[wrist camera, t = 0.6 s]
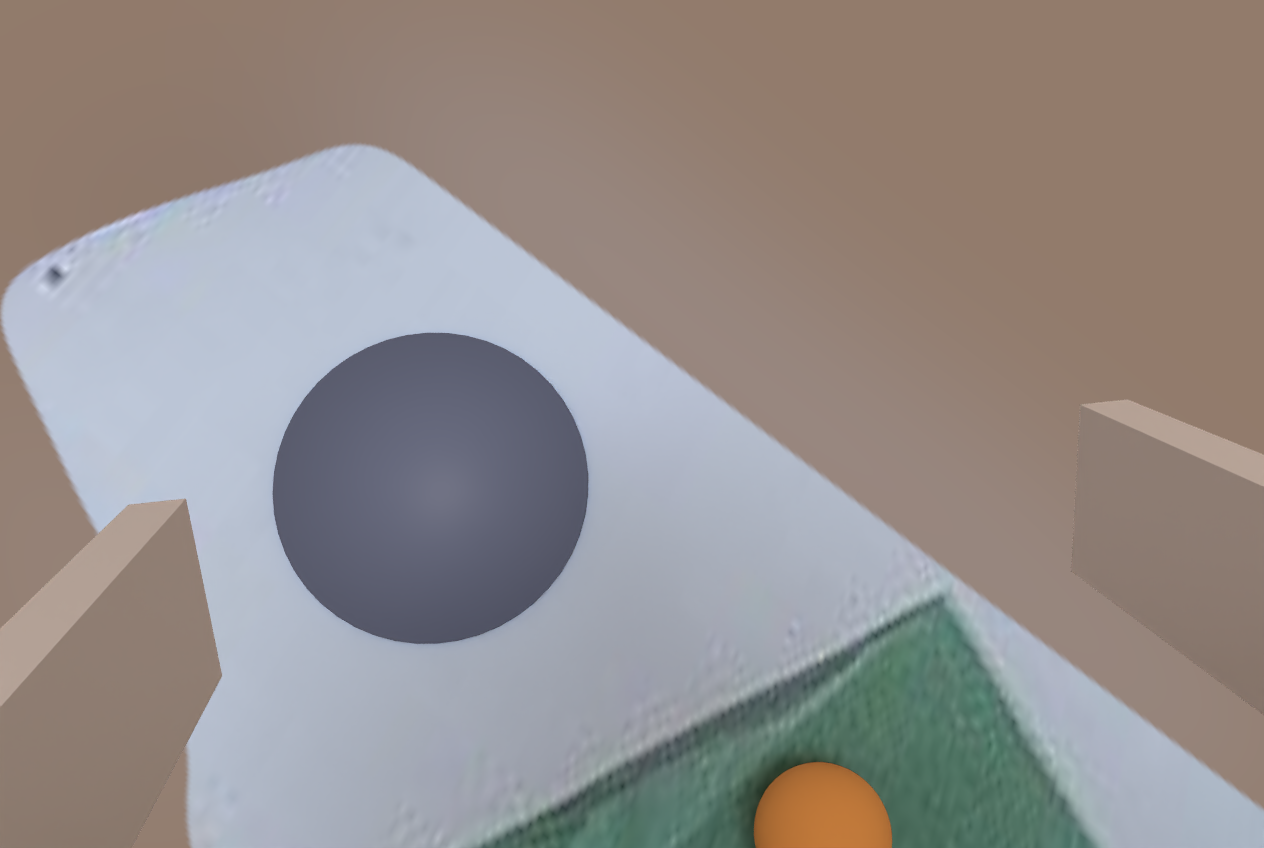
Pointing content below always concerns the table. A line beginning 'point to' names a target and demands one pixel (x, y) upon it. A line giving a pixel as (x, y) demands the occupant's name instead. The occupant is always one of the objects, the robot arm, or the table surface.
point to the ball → (821, 811)
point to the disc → (430, 488)
